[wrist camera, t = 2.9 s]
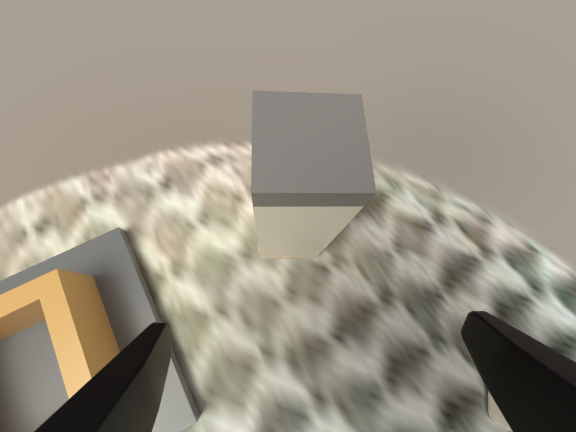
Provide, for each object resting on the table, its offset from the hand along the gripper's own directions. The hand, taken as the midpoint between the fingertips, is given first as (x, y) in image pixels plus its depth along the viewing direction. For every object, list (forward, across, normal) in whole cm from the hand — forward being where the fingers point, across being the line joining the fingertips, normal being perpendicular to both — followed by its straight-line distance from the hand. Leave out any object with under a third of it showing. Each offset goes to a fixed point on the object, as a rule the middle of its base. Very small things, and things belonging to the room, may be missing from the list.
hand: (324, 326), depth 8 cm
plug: (+13, 0, +4) cm, 14 cm away
